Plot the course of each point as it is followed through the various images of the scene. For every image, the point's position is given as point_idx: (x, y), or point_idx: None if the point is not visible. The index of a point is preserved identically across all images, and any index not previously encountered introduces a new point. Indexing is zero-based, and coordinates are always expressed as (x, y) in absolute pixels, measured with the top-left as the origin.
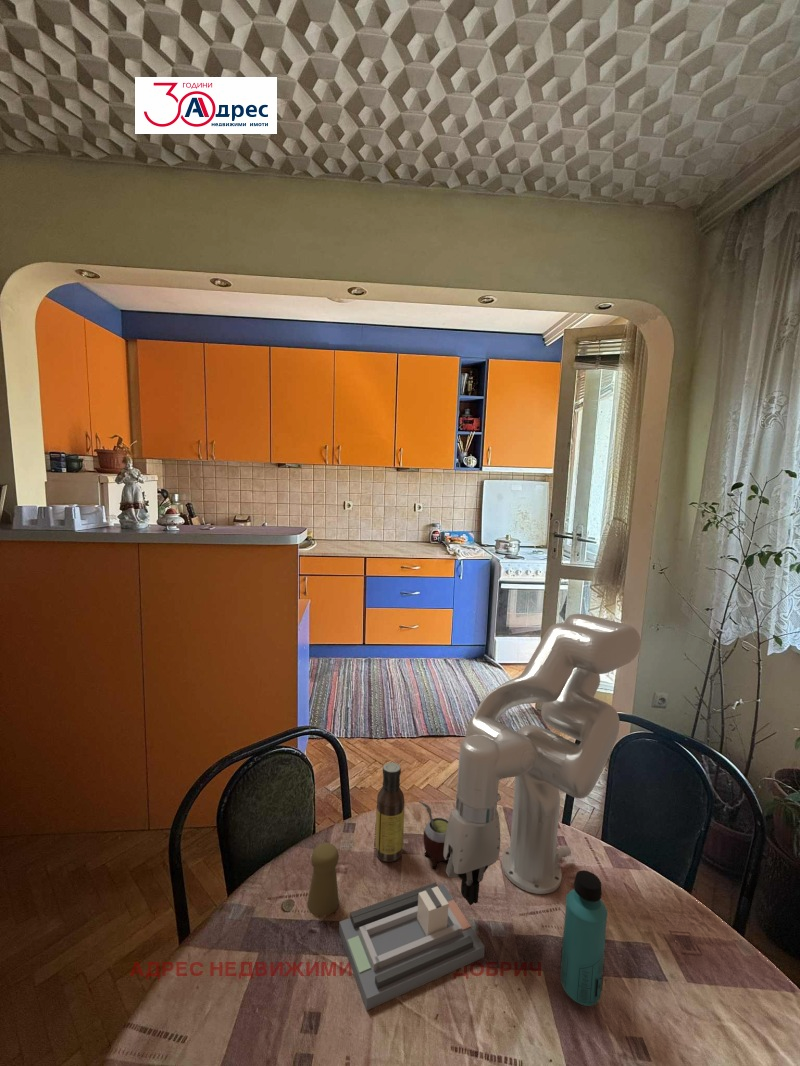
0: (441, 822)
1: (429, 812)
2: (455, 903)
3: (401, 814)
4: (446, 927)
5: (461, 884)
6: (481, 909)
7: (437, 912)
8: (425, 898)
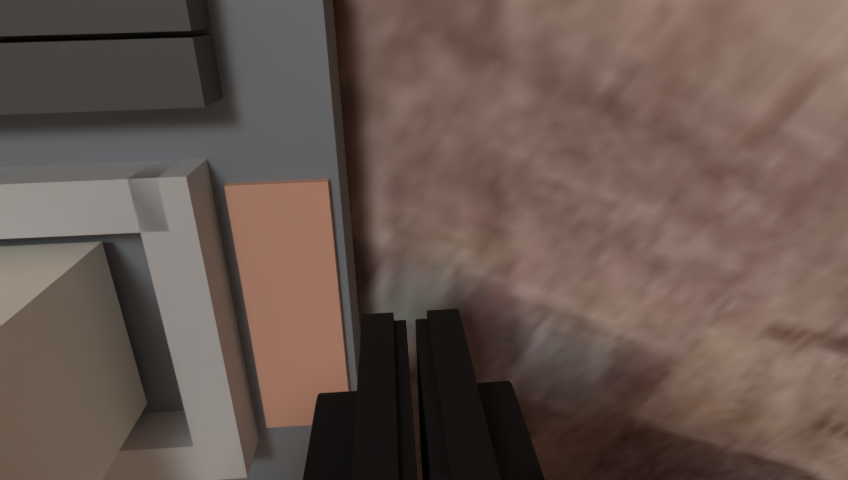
0: None
1: None
2: (328, 220)
3: None
4: (135, 415)
5: (306, 464)
6: (559, 218)
7: None
8: None
